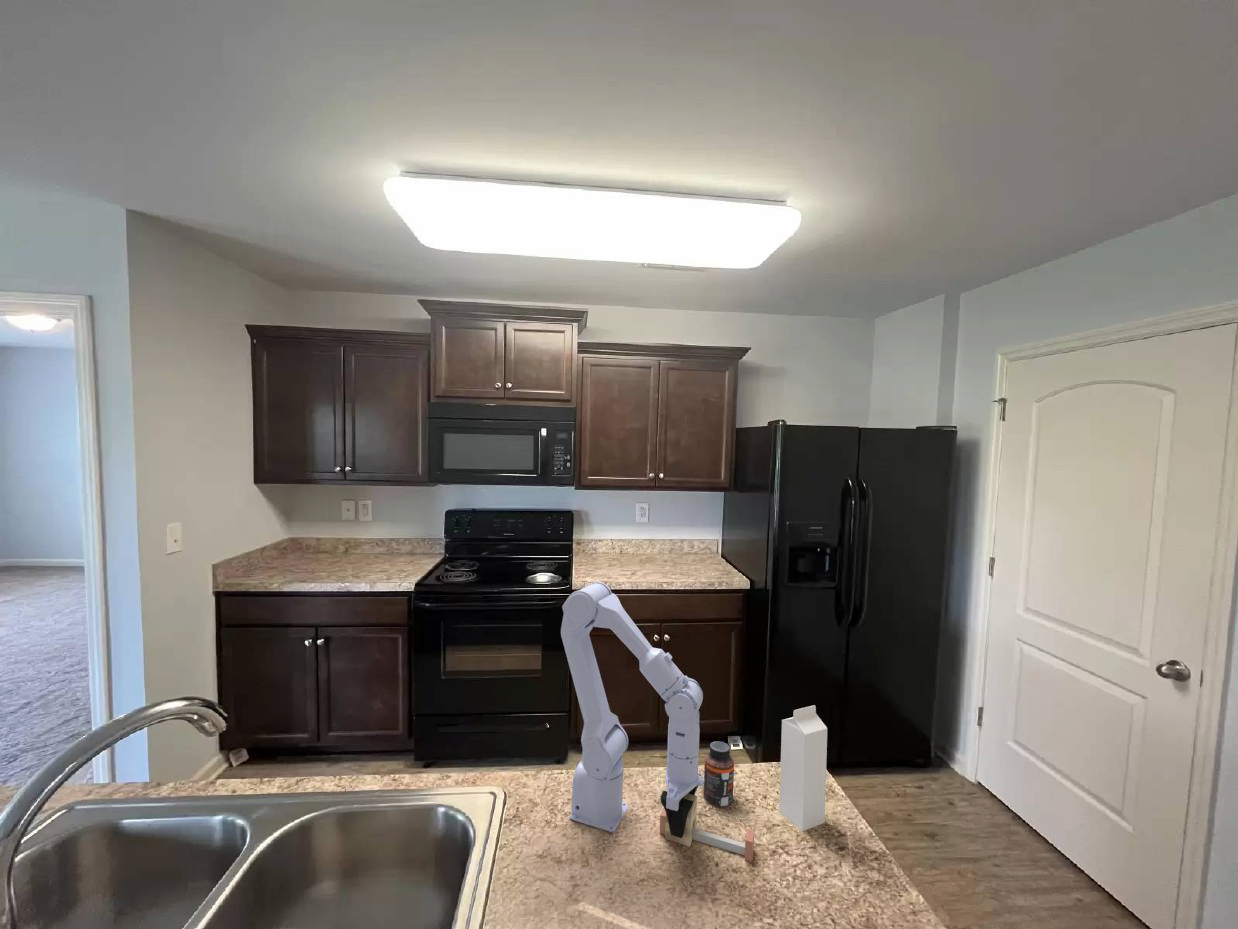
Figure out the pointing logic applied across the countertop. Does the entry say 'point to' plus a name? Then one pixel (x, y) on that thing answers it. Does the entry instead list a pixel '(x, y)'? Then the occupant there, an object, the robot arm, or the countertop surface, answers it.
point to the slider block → (688, 827)
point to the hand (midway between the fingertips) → (680, 825)
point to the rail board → (719, 839)
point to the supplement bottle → (719, 775)
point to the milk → (803, 768)
